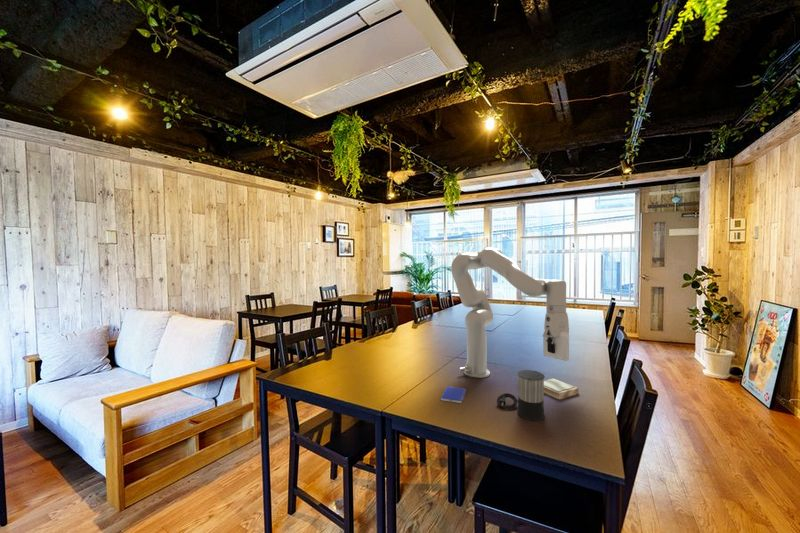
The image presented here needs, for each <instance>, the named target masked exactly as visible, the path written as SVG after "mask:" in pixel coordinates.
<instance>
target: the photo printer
mask: <svg viewBox="0 0 800 533" xmlns="http://www.w3.org/2000/svg"><path fill="white" fill-rule="evenodd" d="M550 336H551V334H550ZM542 337H543V336H542ZM550 339H551V340H552V337H550ZM542 343H543V356H544V357H546V358H550V359H551V358H552V359H555V360H558V361H559V360H560V361H563V362H564V361H565V362H568V361H570V333H569V334H568V333H567V332H565V331H561V333H560V336H559V337H555V340H554V344H555V353H550V352H548V351H547V350H548V343H547V342H546V340H545V338H544V337H543V342H542Z"/></svg>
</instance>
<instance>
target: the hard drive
mask: <svg viewBox="0 0 800 533" xmlns="http://www.w3.org/2000/svg"><path fill="white" fill-rule="evenodd" d="M466 392H467V389H466V388H465V387H464V388H463V387H454V386H450V385H449V386H448V385H447V386H446V387H445V390H444V392H443V394H442V395H441V397H440V401H443V402H444V401H445V402H449V403H459V404H461V403H462V402H463V400H464V397H465V394H466Z"/></svg>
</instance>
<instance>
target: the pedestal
mask: <svg viewBox="0 0 800 533" xmlns="http://www.w3.org/2000/svg"><path fill="white" fill-rule="evenodd" d="M545 394H546V395H547V396H550V397H552V398H554V399H557V400H563V399H566V398H569V397H572V396H576V395H579V387H578V386H574V385H572V384H570V383H567V382H563V381H561V380H559V379H556V378H549V379H544V395H545Z"/></svg>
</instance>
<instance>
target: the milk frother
mask: <svg viewBox="0 0 800 533" xmlns="http://www.w3.org/2000/svg"><path fill="white" fill-rule="evenodd" d="M517 375H518V376H517V380H518V381H517V382H518V384H517V385H518V386H517V387H518V388H517V389H518V390H517V391H518V394H517V395H518V398H517V397H516V396H515V395H514V394H511V393H509V392H506V393H502V394H500V395H499V396H498V397H496V398H497V399H496V404H497V406H498V407H500V408H502V409H508V410H512V409H514V408H515V407H517V411H516V413H517V415H518V416H520V417H521V418H523V419H525V420H528V421H541V420H543V419H544V418H545V408H544V407H545V406H544V405H545V400H544V398H545V393H544V381H545V375H544V373H541V372H540V371H537V370H531V369H523V370H519V371H518V372H517ZM506 398H509V399H511V400H512V401H513V403H512V404H508V405H506V403H507V401H506Z"/></svg>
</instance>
